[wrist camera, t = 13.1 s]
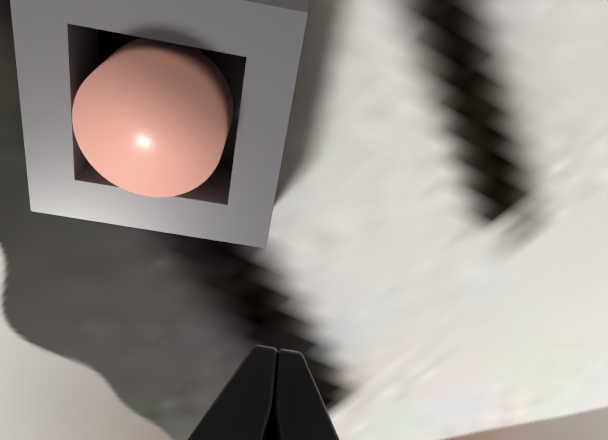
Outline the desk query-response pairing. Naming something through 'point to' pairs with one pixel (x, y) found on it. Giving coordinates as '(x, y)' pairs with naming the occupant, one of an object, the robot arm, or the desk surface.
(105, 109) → the button
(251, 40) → the button housing
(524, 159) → the desk surface
